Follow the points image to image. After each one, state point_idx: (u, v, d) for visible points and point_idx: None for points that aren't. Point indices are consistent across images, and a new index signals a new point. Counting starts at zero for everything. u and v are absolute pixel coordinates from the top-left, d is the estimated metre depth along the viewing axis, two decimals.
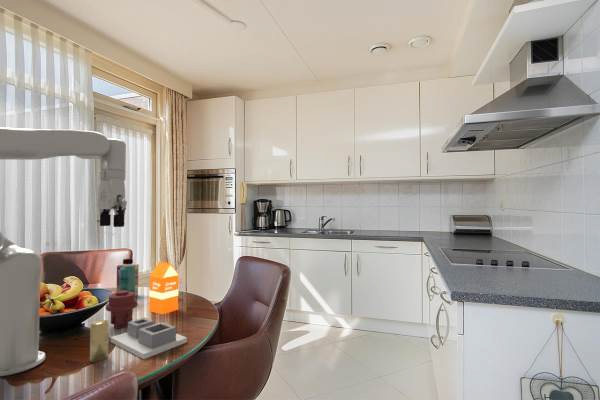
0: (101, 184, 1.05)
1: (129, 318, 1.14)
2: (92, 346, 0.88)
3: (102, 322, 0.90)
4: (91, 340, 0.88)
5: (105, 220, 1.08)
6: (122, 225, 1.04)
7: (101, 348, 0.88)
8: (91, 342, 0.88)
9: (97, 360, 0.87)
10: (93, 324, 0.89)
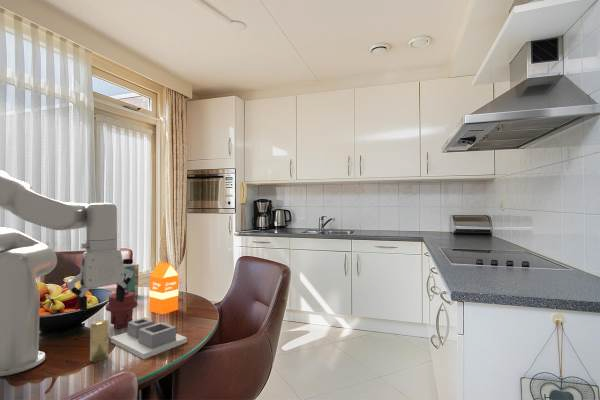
0: (99, 258, 0.87)
1: (129, 318, 1.14)
2: (92, 346, 0.88)
3: (102, 322, 0.90)
4: (91, 340, 0.88)
5: None
6: None
7: (101, 348, 0.88)
8: (91, 342, 0.88)
9: (97, 360, 0.87)
10: (93, 324, 0.88)
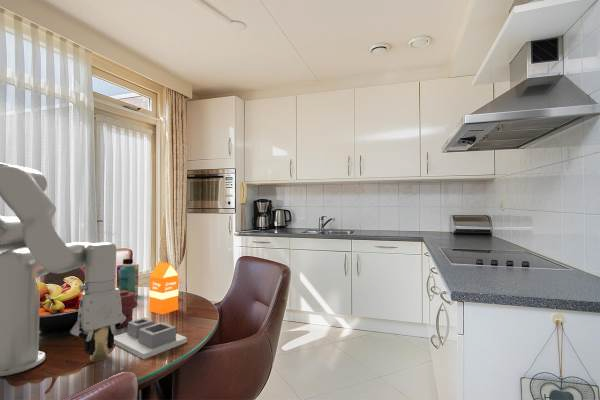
0: (97, 299, 0.87)
1: (129, 318, 1.14)
2: None
3: None
4: None
5: None
6: None
7: (101, 348, 0.88)
8: None
9: (97, 360, 0.87)
10: None
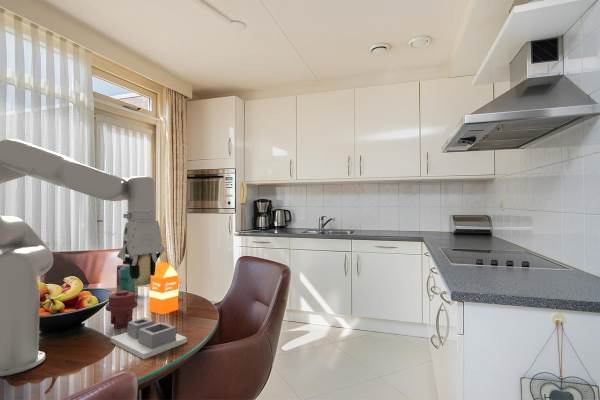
0: (140, 227, 0.93)
1: (129, 318, 1.14)
2: None
3: None
4: None
5: None
6: None
7: (145, 273, 0.94)
8: None
9: (142, 284, 0.94)
10: None
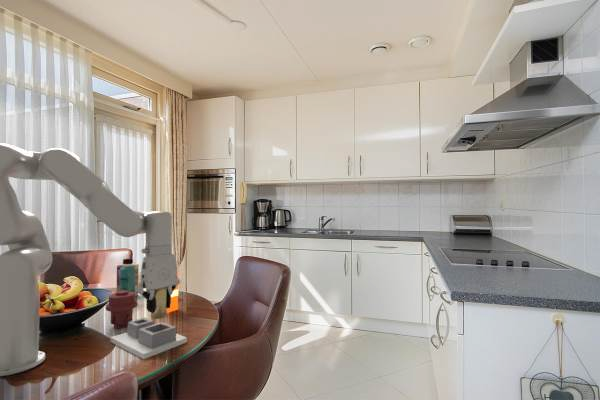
0: (158, 262, 0.95)
1: (129, 318, 1.14)
2: None
3: None
4: None
5: None
6: None
7: (162, 307, 0.96)
8: None
9: (158, 317, 0.96)
10: None
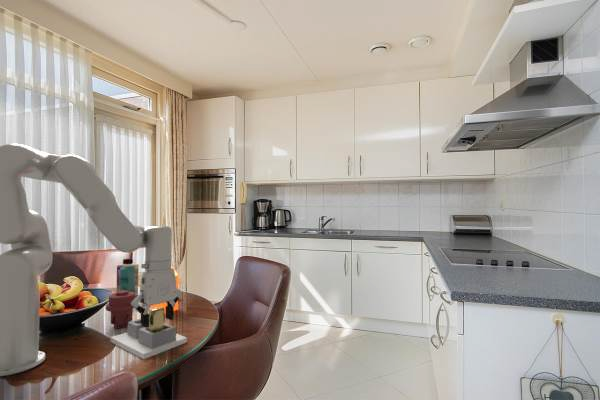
0: (157, 277, 0.95)
1: (129, 318, 1.14)
2: (151, 330, 0.95)
3: (158, 308, 0.98)
4: (150, 324, 0.96)
5: None
6: None
7: None
8: (150, 326, 0.95)
9: None
10: (151, 310, 0.96)
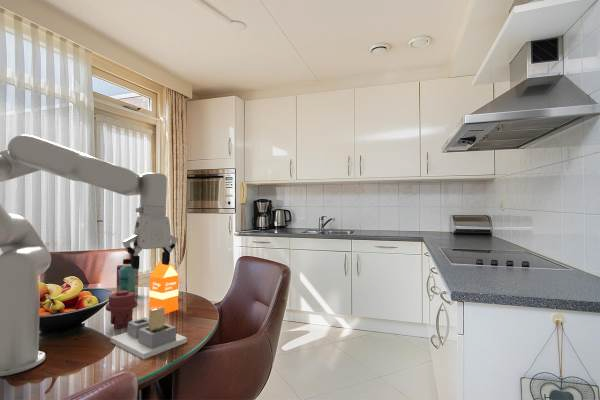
0: (151, 222, 0.96)
1: (129, 318, 1.14)
2: (151, 329, 0.95)
3: (159, 308, 0.98)
4: (150, 324, 0.96)
5: None
6: None
7: None
8: (150, 326, 0.96)
9: None
10: (152, 310, 0.96)
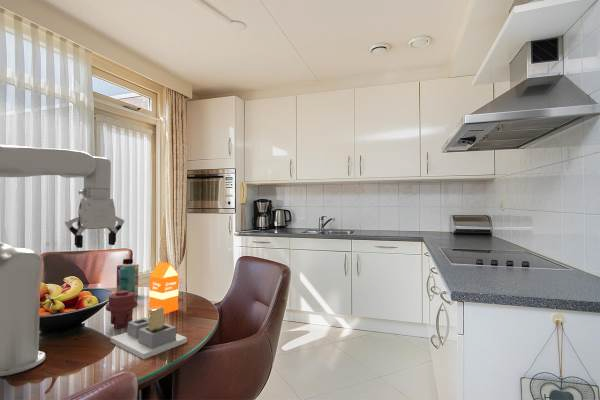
0: (94, 203, 1.01)
1: (129, 318, 1.14)
2: (151, 330, 0.95)
3: (158, 308, 0.97)
4: (150, 325, 0.95)
5: None
6: None
7: None
8: (150, 326, 0.95)
9: None
10: (151, 310, 0.96)
